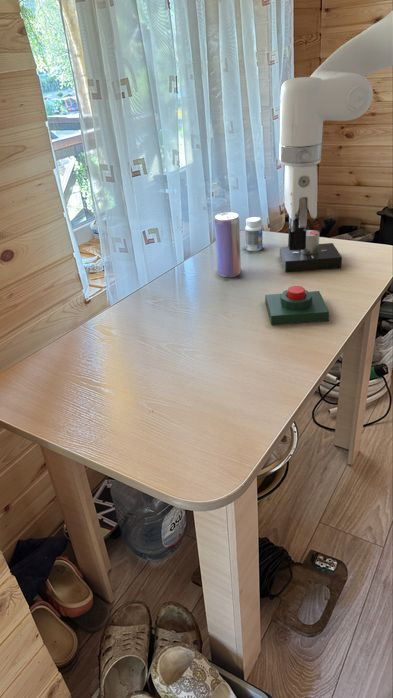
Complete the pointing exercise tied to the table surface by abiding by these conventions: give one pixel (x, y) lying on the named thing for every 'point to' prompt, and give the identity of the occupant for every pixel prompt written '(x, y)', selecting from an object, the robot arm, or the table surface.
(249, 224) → the pill bottle
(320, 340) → the table surface
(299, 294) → the button
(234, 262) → the beverage can
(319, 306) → the button block
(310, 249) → the knob
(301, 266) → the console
